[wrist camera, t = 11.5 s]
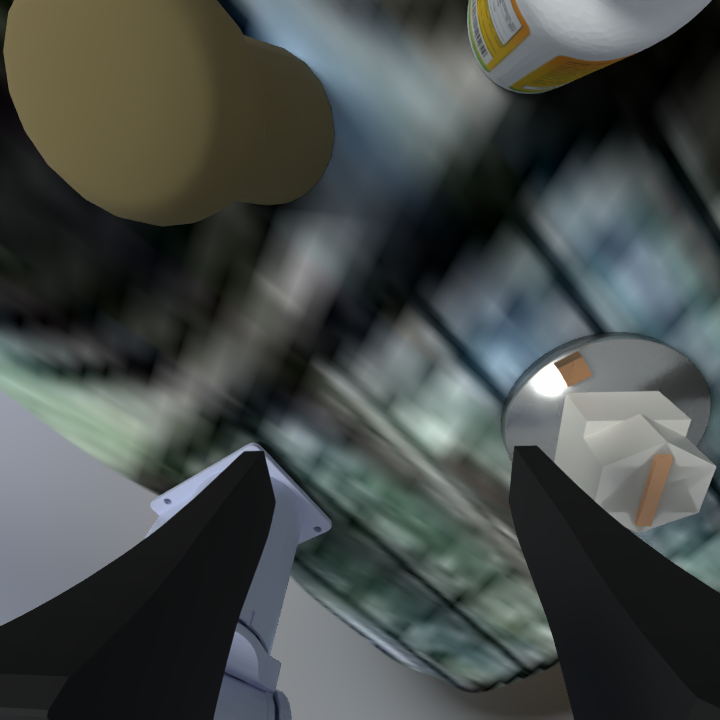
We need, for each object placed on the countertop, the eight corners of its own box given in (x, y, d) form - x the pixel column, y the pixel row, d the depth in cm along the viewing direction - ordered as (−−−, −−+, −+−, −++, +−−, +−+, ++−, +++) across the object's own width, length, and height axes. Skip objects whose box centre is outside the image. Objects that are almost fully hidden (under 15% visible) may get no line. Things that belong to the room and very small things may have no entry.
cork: (355, 80, 17) (298, -35, 7) (309, 225, 19) (221, 296, 9) (210, 15, 16) (-83, -212, 6) (183, 175, 19) (-53, 192, 9)
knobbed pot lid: (547, 510, 26) (566, 555, 23) (468, 393, 22) (479, 427, 20) (721, 441, 23) (769, 482, 20) (659, 294, 19) (705, 317, 17)
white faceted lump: (637, 466, 23) (693, 537, 18) (553, 466, 23) (589, 536, 19) (660, 385, 20) (729, 444, 16) (567, 387, 21) (610, 445, 17)
